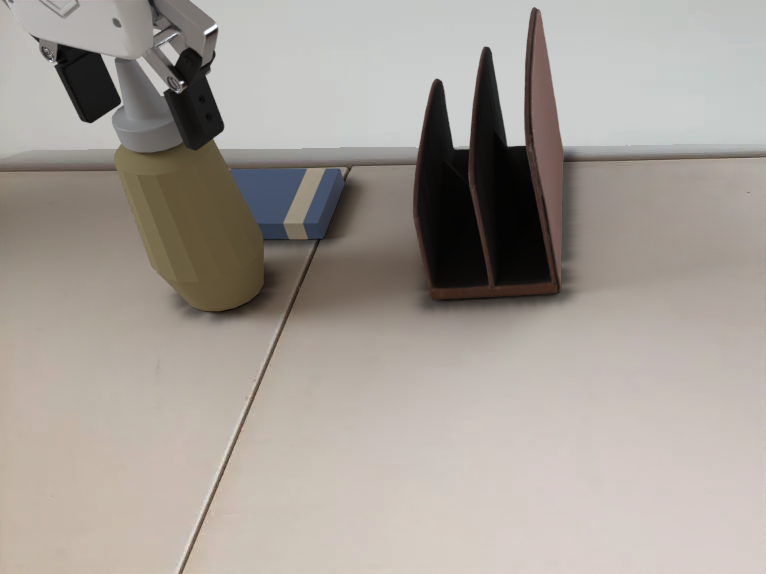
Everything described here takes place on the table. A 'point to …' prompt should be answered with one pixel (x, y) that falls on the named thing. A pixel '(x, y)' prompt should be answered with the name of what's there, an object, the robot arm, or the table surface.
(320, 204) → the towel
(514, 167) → the letter holder
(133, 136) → the squeeze bottle
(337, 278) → the table surface
